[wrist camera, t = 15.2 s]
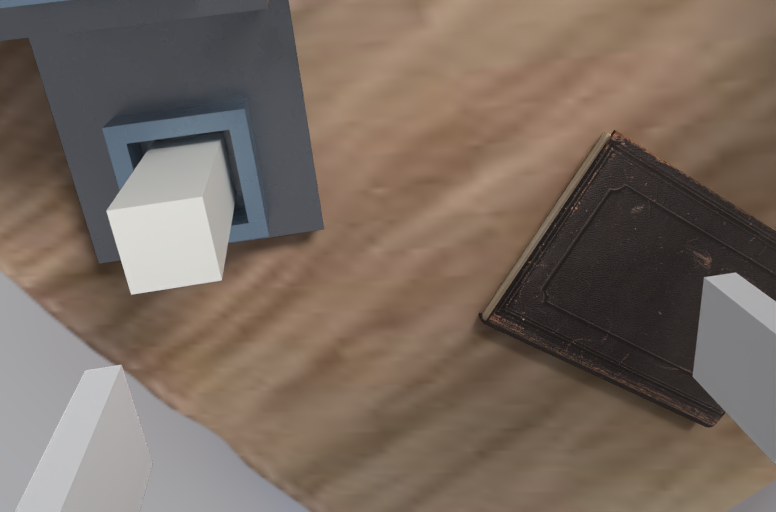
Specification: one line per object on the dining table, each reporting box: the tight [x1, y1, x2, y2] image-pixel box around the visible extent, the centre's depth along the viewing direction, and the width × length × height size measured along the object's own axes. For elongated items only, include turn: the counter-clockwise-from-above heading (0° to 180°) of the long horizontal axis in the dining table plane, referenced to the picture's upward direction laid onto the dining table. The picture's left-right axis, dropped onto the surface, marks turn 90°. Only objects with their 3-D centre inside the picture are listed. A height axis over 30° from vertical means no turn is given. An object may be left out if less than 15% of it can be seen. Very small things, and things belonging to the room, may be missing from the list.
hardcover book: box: [479, 130, 776, 427], centre depth 50 cm, size 16×23×2 cm
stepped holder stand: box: [0, 0, 324, 264], centre depth 32 cm, size 24×14×15 cm, turn 6°
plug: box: [106, 132, 236, 295], centre depth 35 cm, size 5×4×12 cm
